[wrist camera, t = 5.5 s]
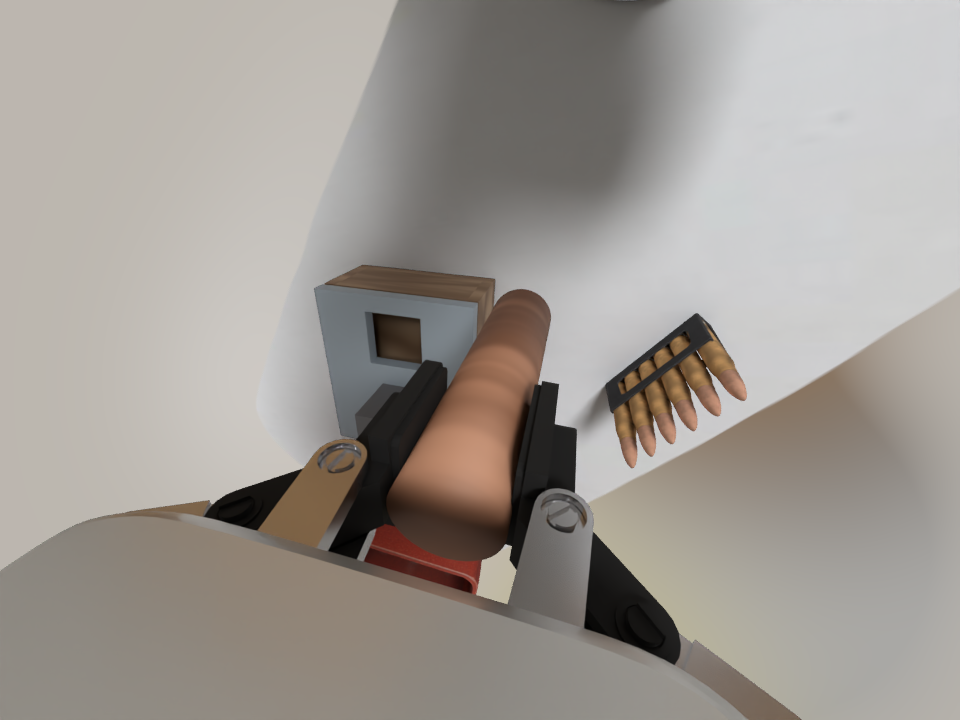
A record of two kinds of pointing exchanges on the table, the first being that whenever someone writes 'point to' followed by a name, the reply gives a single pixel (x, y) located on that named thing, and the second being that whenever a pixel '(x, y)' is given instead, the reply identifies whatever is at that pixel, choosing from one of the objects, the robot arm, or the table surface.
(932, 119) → the table surface
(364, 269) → the brown hollow box
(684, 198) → the table surface
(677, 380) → the ammunition clip
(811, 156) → the table surface
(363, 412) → the toolbox lid
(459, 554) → the brown rounded cylinder
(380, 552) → the plant pot
